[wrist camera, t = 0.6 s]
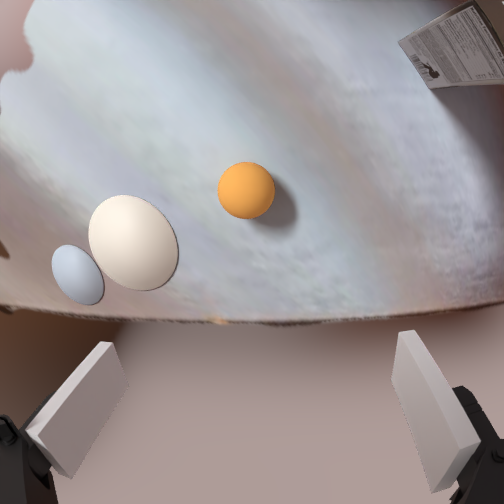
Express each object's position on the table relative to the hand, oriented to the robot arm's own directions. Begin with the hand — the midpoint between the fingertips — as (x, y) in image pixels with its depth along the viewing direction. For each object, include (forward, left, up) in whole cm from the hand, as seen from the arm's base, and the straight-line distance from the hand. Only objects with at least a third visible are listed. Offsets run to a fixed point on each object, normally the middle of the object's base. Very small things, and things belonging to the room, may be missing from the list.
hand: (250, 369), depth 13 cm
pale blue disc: (+30, -4, -22) cm, 38 cm away
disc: (+18, -4, -22) cm, 29 cm away
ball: (+1, -4, -20) cm, 20 cm away
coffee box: (-25, -10, -23) cm, 35 cm away
